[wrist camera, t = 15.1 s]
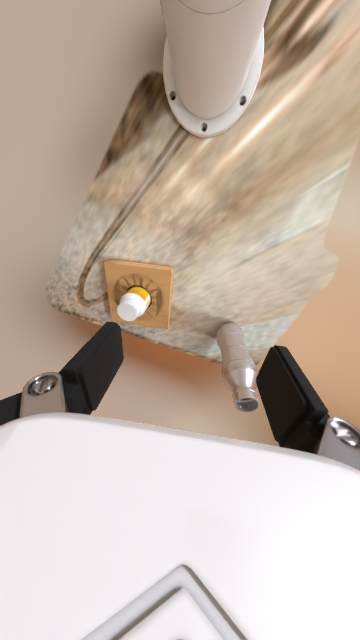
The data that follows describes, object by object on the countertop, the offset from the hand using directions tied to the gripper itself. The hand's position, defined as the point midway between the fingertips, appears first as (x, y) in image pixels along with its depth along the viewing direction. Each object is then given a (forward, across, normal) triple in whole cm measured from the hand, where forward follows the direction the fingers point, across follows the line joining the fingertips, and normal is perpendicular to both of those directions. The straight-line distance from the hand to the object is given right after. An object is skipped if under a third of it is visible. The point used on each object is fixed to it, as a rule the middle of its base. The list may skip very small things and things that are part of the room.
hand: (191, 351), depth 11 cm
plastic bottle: (+28, -10, +16) cm, 34 cm away
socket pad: (+28, +12, +9) cm, 32 cm away
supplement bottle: (+28, +12, +9) cm, 32 cm away
